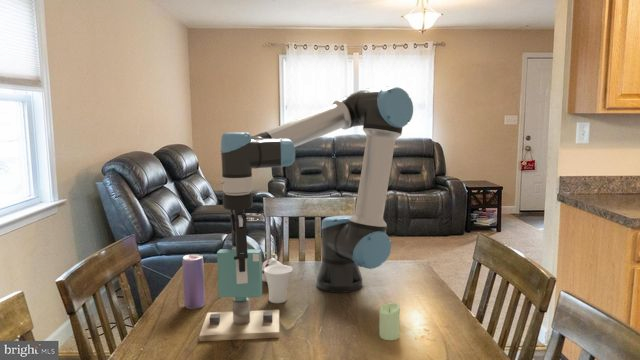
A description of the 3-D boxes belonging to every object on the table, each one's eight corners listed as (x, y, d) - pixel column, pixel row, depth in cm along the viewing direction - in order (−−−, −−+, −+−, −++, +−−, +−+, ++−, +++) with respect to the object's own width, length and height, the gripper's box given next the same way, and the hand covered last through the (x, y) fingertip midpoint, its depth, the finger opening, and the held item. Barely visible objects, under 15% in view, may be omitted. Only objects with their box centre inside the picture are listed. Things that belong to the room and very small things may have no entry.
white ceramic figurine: (268, 248, 169) (272, 255, 155) (288, 258, 171) (293, 267, 156) (255, 272, 169) (257, 282, 154) (274, 282, 170) (279, 293, 155)
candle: (385, 342, 120) (386, 310, 118) (375, 333, 124) (376, 303, 123) (402, 338, 122) (403, 307, 120) (392, 330, 126) (392, 300, 125)
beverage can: (199, 310, 140) (197, 260, 138) (180, 308, 141) (178, 259, 139) (208, 302, 145) (206, 254, 143) (190, 301, 147) (188, 253, 145)
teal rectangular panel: (221, 296, 129) (220, 249, 128) (262, 296, 129) (261, 249, 127) (218, 301, 126) (216, 252, 124) (260, 301, 126) (259, 253, 124)
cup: (278, 308, 141) (278, 275, 139) (258, 300, 147) (257, 268, 146) (300, 299, 147) (299, 268, 146) (279, 291, 154) (278, 261, 152)
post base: (279, 314, 136) (278, 289, 135) (279, 337, 123) (278, 309, 121) (207, 317, 135) (206, 292, 134) (199, 341, 121) (198, 312, 120)
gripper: (220, 186, 133) (223, 264, 136) (225, 201, 112) (228, 293, 115) (247, 185, 135) (249, 262, 138) (257, 199, 114) (260, 289, 117)
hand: (240, 276), depth 127 cm, fingers open, 10 cm apart
